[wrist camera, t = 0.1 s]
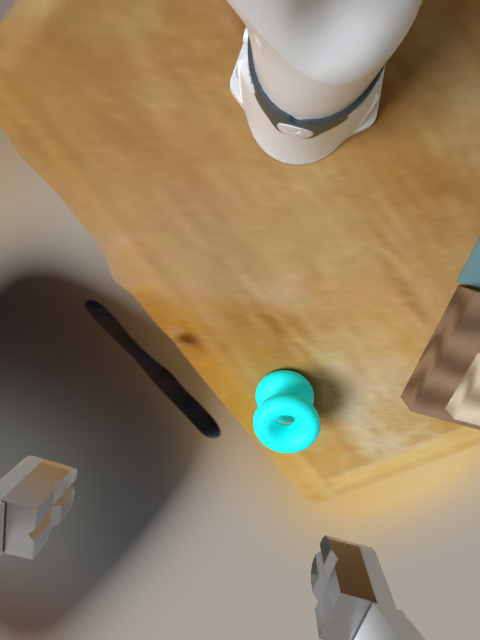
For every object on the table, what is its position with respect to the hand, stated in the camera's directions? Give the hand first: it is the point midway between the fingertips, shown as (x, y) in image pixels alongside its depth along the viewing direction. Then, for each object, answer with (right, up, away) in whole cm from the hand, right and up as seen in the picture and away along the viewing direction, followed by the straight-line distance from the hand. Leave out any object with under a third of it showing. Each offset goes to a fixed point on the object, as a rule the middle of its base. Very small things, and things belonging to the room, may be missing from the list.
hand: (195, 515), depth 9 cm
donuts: (+9, -6, +43) cm, 45 cm away
